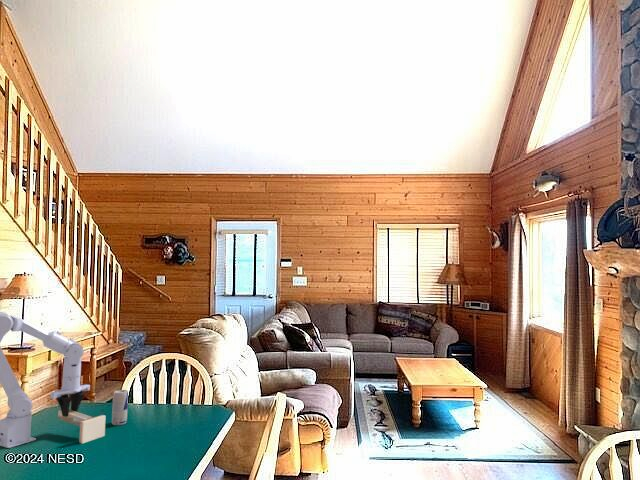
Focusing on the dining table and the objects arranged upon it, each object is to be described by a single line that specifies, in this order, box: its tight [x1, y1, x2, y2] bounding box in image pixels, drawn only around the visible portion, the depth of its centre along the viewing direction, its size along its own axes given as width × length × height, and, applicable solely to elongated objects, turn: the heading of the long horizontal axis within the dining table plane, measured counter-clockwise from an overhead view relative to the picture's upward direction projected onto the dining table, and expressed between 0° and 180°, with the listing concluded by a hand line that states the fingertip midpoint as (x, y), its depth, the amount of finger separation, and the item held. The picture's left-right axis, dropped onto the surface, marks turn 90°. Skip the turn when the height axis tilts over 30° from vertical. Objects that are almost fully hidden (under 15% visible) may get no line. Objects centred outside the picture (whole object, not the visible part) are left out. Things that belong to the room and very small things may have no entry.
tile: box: [78, 414, 107, 445], centre depth 171 cm, size 9×2×7 cm, turn 154°
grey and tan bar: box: [57, 408, 94, 427], centre depth 175 cm, size 3×14×3 cm, turn 64°
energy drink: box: [111, 389, 129, 426], centre depth 189 cm, size 5×5×12 cm
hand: (69, 414), depth 176 cm, fingers closed on grey and tan bar, 3 cm apart
